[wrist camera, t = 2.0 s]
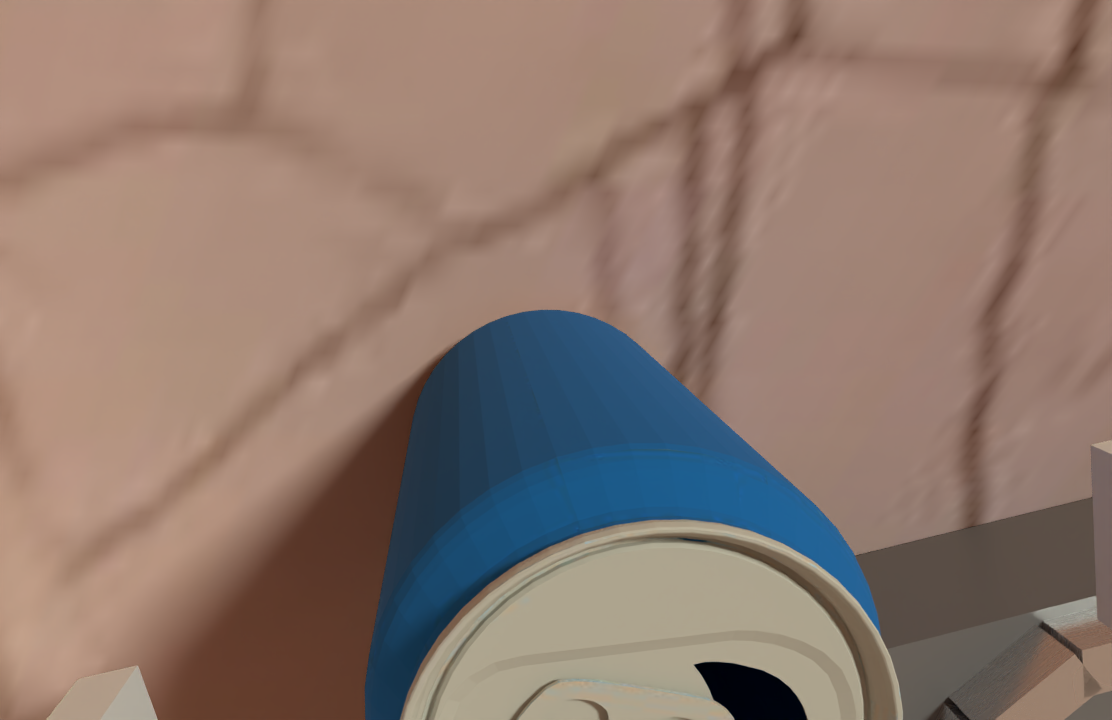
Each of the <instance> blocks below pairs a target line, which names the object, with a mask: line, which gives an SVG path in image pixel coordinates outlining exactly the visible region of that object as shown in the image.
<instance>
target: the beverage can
mask: <svg viewBox="0 0 1112 720" xmlns="http://www.w3.org/2000/svg"><path fill="white" fill-rule="evenodd" d="M365 720H903V709H902V702H901V695H900V689H899V683H898V680H897V676H896V673H895V670H894V666H893V663H892V660H891V657H890V655H889V652H888V650H887V648H886V646H885V644H884V642H883V640H882V638H881V633H880V626H879V620H878V614H877V611H876V608H875V604H874V601H873V598H872V594H871V591H870V588H869V585H868V583H867V581H866V579H865V576H864V574H863V572H862V570H861V568H860V566H859V564H858V562H857V560H856V557H855V555H854V553H853V552H852V550H851V549H850V547H849V546H848V544H847V543H846V541H845V540H844V538H843V537H842V535H841V534H840V532H839V531H838V529H837V528H836V527H835V526H834V525H833V524H832V523H831V521H830V520H829V519H828V518H827V517H826V516H825V515H824V514H823V513H822V512H821V511H820V509H819V508H818V507H817V506H816V505H815V504H814V503H813V502H812V501H810V500H809V499H808V498H807V497H806V496H805V495H804V494H803V493H802V492H800V491H799V490H798V489H797V488H796V487H795V486H794V485H793V484H792V483H791V482H789V481H788V480H787V479H786V478H785V477H784V476H783V475H782V474H781V473H779V472H778V471H777V470H776V469H775V468H774V467H773V466H772V465H771V464H770V463H768V462H767V461H766V460H765V459H764V458H763V457H762V456H761V455H760V454H758V453H757V452H756V451H755V450H754V449H753V448H752V447H751V446H750V445H749V444H747V443H746V442H745V441H744V440H743V439H742V438H741V437H740V436H739V435H737V434H736V433H735V432H734V431H733V430H732V429H731V428H730V427H729V426H728V425H726V424H725V423H724V422H723V421H722V420H721V419H720V418H719V417H718V416H717V415H715V414H714V413H713V412H712V411H711V410H710V409H709V408H708V407H707V406H705V405H704V404H703V403H702V402H701V401H700V400H699V399H698V398H697V397H696V396H694V395H693V394H692V393H691V392H690V391H689V390H688V389H687V388H686V387H684V386H683V385H682V384H681V383H680V382H679V381H678V380H677V379H676V378H675V377H673V376H672V375H671V374H670V373H669V372H668V371H667V370H666V369H665V368H663V367H662V366H661V365H660V364H659V363H658V362H657V361H656V360H655V359H654V358H652V357H651V356H650V355H649V354H648V353H647V352H646V351H645V350H644V349H643V348H641V347H640V346H639V345H638V344H637V343H636V342H634V341H633V340H632V339H631V338H630V337H628V336H627V335H626V334H625V333H623V332H621V331H620V330H618V329H616V328H615V327H613V326H611V325H610V324H607V323H605V322H603V321H601V320H598V319H596V318H593V317H590V316H587V315H583V314H580V313H575V312H568V311H561V310H536V311H528V312H521V313H517V314H513V315H509V316H506V317H503V318H500V319H498V320H495V321H493V322H490V323H488V324H486V325H484V326H483V327H481V328H479V329H477V330H475V331H473V332H472V333H471V334H469V335H468V336H467V337H465V338H464V339H462V340H461V341H460V342H458V343H457V344H456V345H455V346H454V347H453V348H452V349H451V350H450V351H449V352H448V353H447V354H446V355H445V356H444V357H443V358H442V360H441V361H440V362H439V363H438V365H437V366H436V367H435V368H434V370H433V372H432V373H431V375H430V377H429V378H428V380H427V382H426V383H425V385H424V387H423V390H422V392H421V394H420V397H419V399H418V402H417V406H416V409H415V413H414V416H413V421H412V427H411V432H410V438H409V443H408V448H407V454H406V459H405V465H404V470H403V475H402V481H401V486H400V491H399V497H398V502H397V508H396V513H395V518H394V524H393V529H392V535H391V540H390V545H389V551H388V556H387V562H386V567H385V572H384V578H383V583H382V588H381V594H380V599H379V605H378V610H377V615H376V621H375V626H374V632H373V637H372V642H371V648H370V653H369V660H368V667H367V675H366V682H365Z"/></svg>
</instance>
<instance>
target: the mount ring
mask: <svg viewBox="0 0 1112 720" xmlns="http://www.w3.org/2000/svg"><path fill="white" fill-rule="evenodd" d="M1109 691H1112V630H1111V629H1110V628H1109V627H1107V626H1106V625H1104V624H1103V623H1102V622H1100V621H1099V620H1097V607H1095V608H1091V609H1087V610H1083V611H1079V612H1076V613H1072V614H1068V615H1064V616H1060V617H1056V618H1052V619H1048V620H1044V621H1043V629H1041V628H1040V627H1039V626H1037V625H1035V626H1034V627H1032V628H1031V629H1030V630H1029V631H1027V632H1026V633H1025V634H1024V635H1023V636H1021V637H1020V638H1019V639H1018V640H1017V641H1015V642H1014V643H1013V644H1012V645H1011V646H1009V647H1008V648H1007V649H1006V650H1004V651H1003V652H1002V653H1001V654H1000V655H998V656H997V657H996V658H995V659H994V660H992V661H991V662H990V663H989V664H988V665H986V666H985V667H984V668H983V669H981V670H980V671H979V672H978V673H977V674H975V675H974V676H973V677H972V678H971V679H969V680H968V681H967V682H966V683H965V684H963V685H962V686H961V687H960V688H958V689H957V690H956V691H955V692H954V693H952V694H951V695H950V696H949V698H950V699H951V700H952V701H953V703H954V704H955V705H956V706H955V705H950V704H946V703H943V705H942V708H941V710H940V712H939V714H938V716H937V718H936V720H1064V719H1066V718H1067V717H1068V716H1069V715H1071V714H1072V713H1073V712H1074V711H1076V710H1077V709H1078V708H1079V707H1080V706H1082V705H1083V704H1084V703H1085V702H1087V701H1088V700H1089V699H1090V698H1091V697H1093V696H1094V695H1097V694H1101V693H1105V692H1109Z"/></svg>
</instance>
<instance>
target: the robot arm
mask: <svg viewBox="0 0 1112 720" xmlns="http://www.w3.org/2000/svg"><path fill="white" fill-rule="evenodd" d="M1091 471H1092V497H1093V523H1094V548H1095V574H1096V600H1097V620H1099V621H1100V622H1102V623H1103V624H1104V625H1106V626H1107V627H1109V628H1110V629H1111V630H1112V440H1110V441H1105V442H1101V443H1097V444H1092V445H1091ZM46 720H158V719H157V716H156V713H155V711H154V708H153V705H152V703H151V700H150V697H149V694H148V692H147V689H146V686H145V684H144V681H143V678H142V675H141V673H140V670H139V667H138V665H136V666H132V667H127V668H123V669H119V670H114V671H110V672H106V673H101V674H97V675H93V676H88V677H84V678H80V679H78V680H77V681H76V682H75V684H74V685H73V686H72V687H71V689H70V690H69V691H68V692H67V694H66V695H65V696H64V698H63V699H62V700H61V701H60V703H59V704H58V705H57V706H56V708H55V709H54V710H53V712H52V713H51V714H50V715H49V717H48V718H47V719H46Z"/></svg>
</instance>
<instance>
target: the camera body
mask: <svg viewBox="0 0 1112 720" xmlns="http://www.w3.org/2000/svg"><path fill="white" fill-rule="evenodd" d="M855 557H856V560H857V562H858V564H859V566H860V568H861V570H862V572H863V574H864V576H865V579H866V581H867V583H868V585H869V588H870V591H871V594H872V598H873V601H874V604H875V608H876V611H877V614H878V620H879V626H880V633H881V638H882V640H883V642H884V644H885V646H886V648H887V650H888V652H889V655H890V657H891V660H892V663H893V666H894V670H895V673H896V676H897V680H898V683H899V689H900V695H901V702H902V709H903V720H936V718H937V716H938V714H939V712H940V710H941V708H942V705H943V703H946V704H950V705H955V704H954V703H953V701H952V700H951V699H950V698H949V696H950V695H951V694H952V693H954V692H955V691H956V690H957V689H958V688H960V687H961V686H962V685H963V684H965V683H966V682H967V681H968V680H969V679H971V678H972V677H973V676H974V675H975V674H977V673H978V672H979V671H980V670H981V669H983V668H984V667H985V666H986V665H988V664H989V663H990V662H991V661H992V660H994V659H995V658H996V657H997V656H998V655H1000V654H1001V653H1002V652H1003V651H1004V650H1006V649H1007V648H1008V647H1009V646H1011V645H1012V644H1013V643H1014V642H1015V641H1017V640H1018V639H1019V638H1020V637H1021V636H1023V635H1024V634H1025V633H1026V632H1027V631H1029V630H1030V629H1031V628H1032V627H1034V626H1035V625H1037V626H1039V627H1040V628H1041V629H1043V621H1044V620H1048V619H1052V618H1056V617H1060V616H1064V615H1068V614H1072V613H1076V612H1079V611H1083V610H1087V609H1091V608H1095V607H1097V600H1096V574H1095V548H1094V523H1093V498H1088V499H1084V500H1080V501H1076V502H1072V503H1068V504H1064V505H1060V506H1056V507H1052V508H1048V509H1044V510H1040V511H1036V512H1032V513H1027V514H1023V515H1019V516H1015V517H1011V518H1007V519H1003V520H999V521H995V522H991V523H987V524H983V525H979V526H975V527H971V528H966V529H962V530H958V531H954V532H950V533H946V534H942V535H938V536H934V537H930V538H926V539H922V540H918V541H914V542H910V543H906V544H901V545H897V546H893V547H889V548H885V549H881V550H877V551H873V552H869V553H865V554H861V555H857V556H855ZM955 706H956V705H955ZM1064 720H1112V691H1109V692H1105V693H1101V694H1097V695H1094V696H1093V697H1091V698H1090V699H1089V700H1088V701H1087V702H1085V703H1084V704H1083V705H1082V706H1080V707H1079V708H1078V709H1077V710H1076V711H1074V712H1073V713H1072V714H1071V715H1069V716H1068V717H1067V718H1066V719H1064Z"/></svg>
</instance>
